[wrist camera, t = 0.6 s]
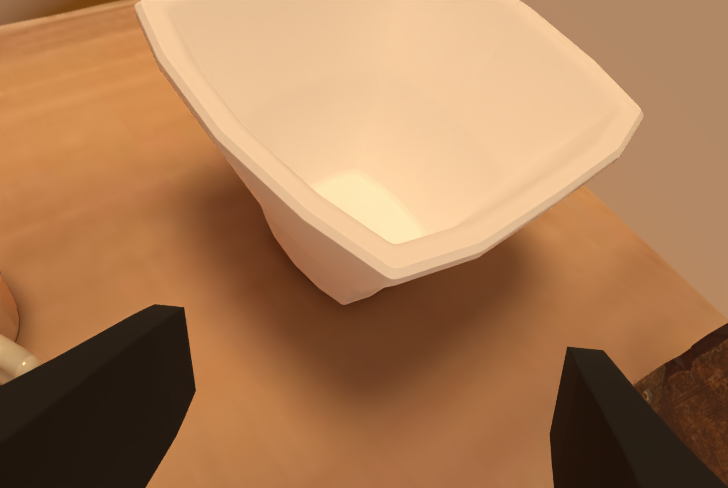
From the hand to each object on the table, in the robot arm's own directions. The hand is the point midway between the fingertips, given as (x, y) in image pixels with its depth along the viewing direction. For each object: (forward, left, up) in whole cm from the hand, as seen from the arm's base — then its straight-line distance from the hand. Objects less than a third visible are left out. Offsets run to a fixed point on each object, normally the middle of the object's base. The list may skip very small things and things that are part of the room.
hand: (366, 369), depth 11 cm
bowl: (+17, +6, -20) cm, 27 cm away
